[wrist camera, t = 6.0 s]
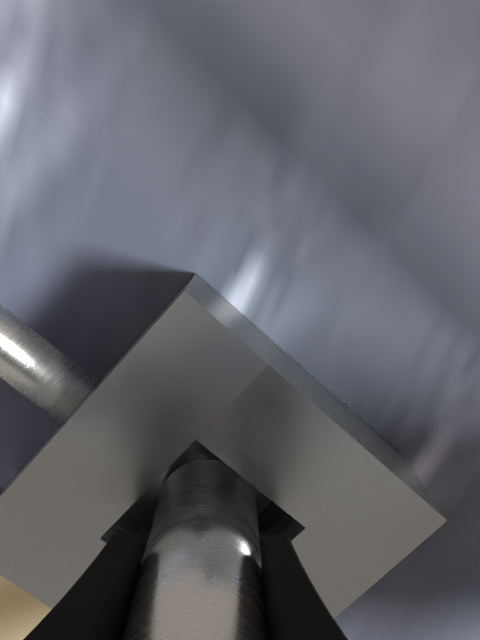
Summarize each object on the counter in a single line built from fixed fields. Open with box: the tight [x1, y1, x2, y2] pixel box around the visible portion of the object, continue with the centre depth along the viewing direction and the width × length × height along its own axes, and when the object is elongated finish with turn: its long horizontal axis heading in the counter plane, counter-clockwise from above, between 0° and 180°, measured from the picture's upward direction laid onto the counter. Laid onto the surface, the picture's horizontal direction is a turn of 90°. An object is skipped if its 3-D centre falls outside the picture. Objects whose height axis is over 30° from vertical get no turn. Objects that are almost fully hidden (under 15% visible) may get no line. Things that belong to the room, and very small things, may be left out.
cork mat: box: [0, 575, 52, 640], centre depth 17 cm, size 8×8×1 cm
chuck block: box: [0, 274, 447, 618], centre depth 13 cm, size 19×10×4 cm, turn 48°
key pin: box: [122, 460, 267, 640], centre depth 10 cm, size 3×3×8 cm
